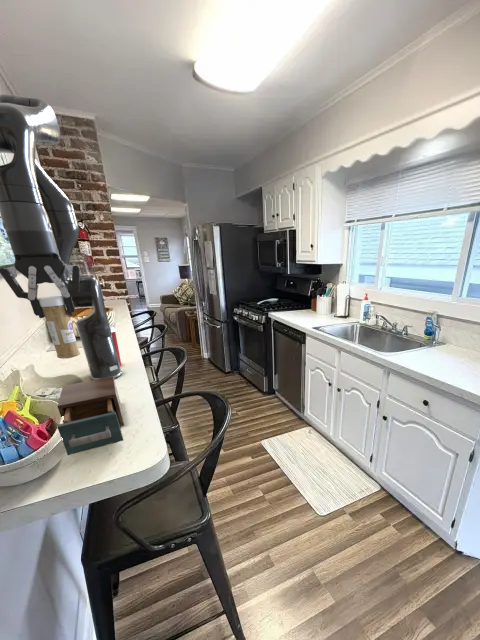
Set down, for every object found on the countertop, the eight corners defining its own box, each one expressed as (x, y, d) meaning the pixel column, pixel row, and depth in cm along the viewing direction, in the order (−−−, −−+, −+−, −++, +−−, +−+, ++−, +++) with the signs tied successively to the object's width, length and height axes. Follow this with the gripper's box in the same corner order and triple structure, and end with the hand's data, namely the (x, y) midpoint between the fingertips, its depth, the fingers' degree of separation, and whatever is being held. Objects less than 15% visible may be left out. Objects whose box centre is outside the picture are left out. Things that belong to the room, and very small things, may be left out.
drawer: (124, 449, 65) (116, 421, 62) (66, 466, 60) (54, 436, 58) (120, 417, 78) (113, 393, 76) (71, 428, 74) (63, 403, 71)
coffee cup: (123, 361, 124) (114, 324, 118) (125, 367, 117) (116, 328, 111) (99, 365, 120) (88, 327, 114) (100, 371, 113) (89, 331, 107)
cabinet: (124, 425, 76) (115, 394, 73) (69, 439, 71) (57, 406, 68) (121, 404, 87) (113, 376, 84) (72, 415, 82) (62, 385, 79)
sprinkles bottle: (80, 356, 71) (63, 296, 66) (56, 360, 69) (36, 298, 64) (80, 352, 74) (63, 294, 69) (57, 355, 72) (38, 296, 67)
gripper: (73, 232, 68) (94, 310, 74) (-12, 231, 62) (19, 317, 68) (70, 229, 62) (93, 314, 68) (-24, 228, 55) (11, 322, 62)
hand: (56, 315), depth 68 cm, fingers closed on sprinkles bottle, 4 cm apart
